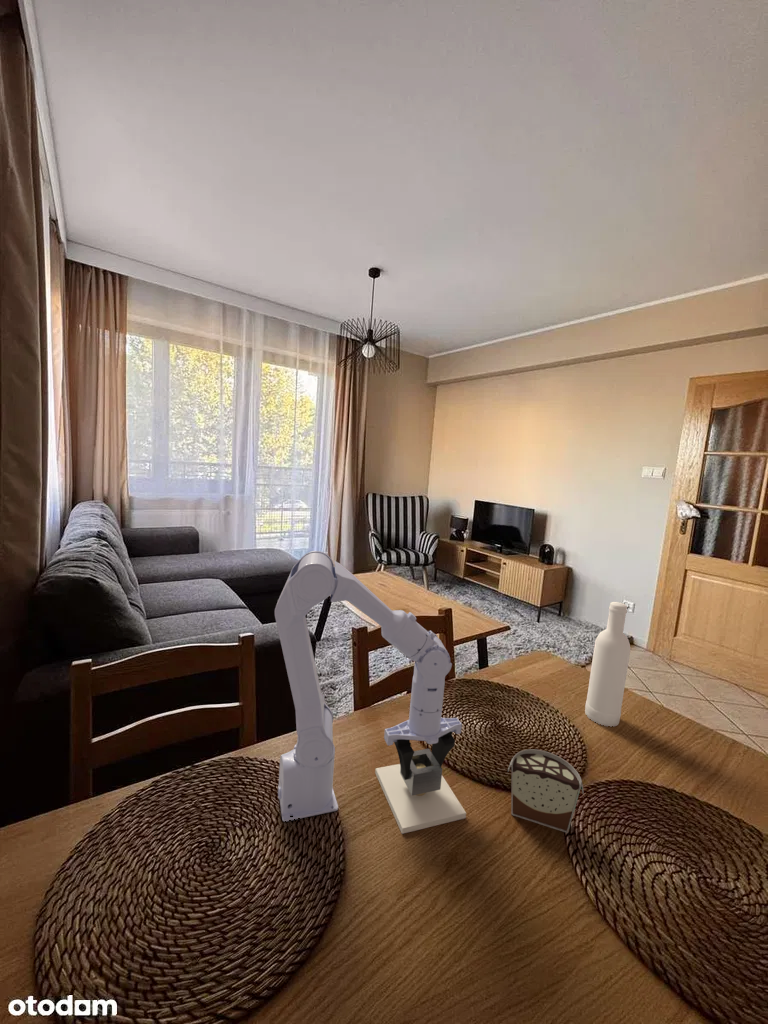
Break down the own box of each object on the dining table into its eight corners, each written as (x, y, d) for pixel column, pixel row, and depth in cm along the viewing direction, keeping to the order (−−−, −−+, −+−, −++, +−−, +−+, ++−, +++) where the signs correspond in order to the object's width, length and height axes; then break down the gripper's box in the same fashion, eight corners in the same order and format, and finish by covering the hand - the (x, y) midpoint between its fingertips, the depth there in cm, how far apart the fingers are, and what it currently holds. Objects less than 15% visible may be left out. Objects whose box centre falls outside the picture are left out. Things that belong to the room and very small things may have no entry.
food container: (574, 809, 78) (581, 759, 77) (577, 836, 72) (585, 782, 71) (504, 787, 82) (510, 739, 81) (502, 811, 76) (508, 760, 75)
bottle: (587, 704, 113) (603, 596, 110) (621, 716, 109) (638, 604, 105) (581, 718, 107) (598, 603, 103) (616, 731, 102) (635, 612, 99)
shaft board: (401, 833, 70) (404, 803, 69) (375, 773, 83) (377, 747, 82) (465, 818, 74) (468, 789, 74) (430, 762, 87) (433, 737, 87)
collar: (411, 795, 75) (413, 774, 74) (399, 772, 80) (401, 753, 79) (440, 789, 76) (442, 769, 76) (427, 767, 82) (428, 748, 81)
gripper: (396, 722, 70) (390, 797, 72) (473, 711, 75) (465, 781, 77) (382, 698, 77) (377, 767, 79) (453, 689, 82) (447, 754, 83)
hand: (419, 772), depth 78 cm, fingers closed on collar, 5 cm apart
